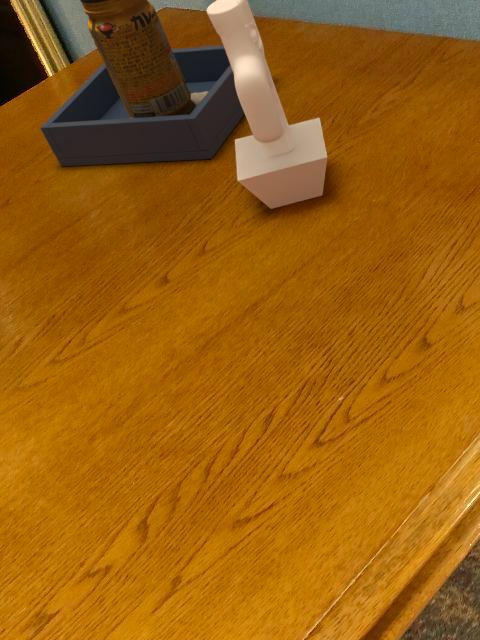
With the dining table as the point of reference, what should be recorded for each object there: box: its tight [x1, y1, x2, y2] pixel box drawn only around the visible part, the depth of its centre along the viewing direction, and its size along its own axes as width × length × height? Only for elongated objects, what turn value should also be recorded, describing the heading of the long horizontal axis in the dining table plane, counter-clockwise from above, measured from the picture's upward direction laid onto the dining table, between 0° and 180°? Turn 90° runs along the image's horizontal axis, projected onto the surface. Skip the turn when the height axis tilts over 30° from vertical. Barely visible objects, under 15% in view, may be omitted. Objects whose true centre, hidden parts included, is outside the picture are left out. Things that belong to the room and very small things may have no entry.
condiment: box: [80, 0, 208, 118], centre depth 90 cm, size 7×8×12 cm
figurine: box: [206, 0, 328, 210], centre depth 78 cm, size 7×9×15 cm
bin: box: [39, 44, 245, 167], centre depth 94 cm, size 16×15×4 cm
